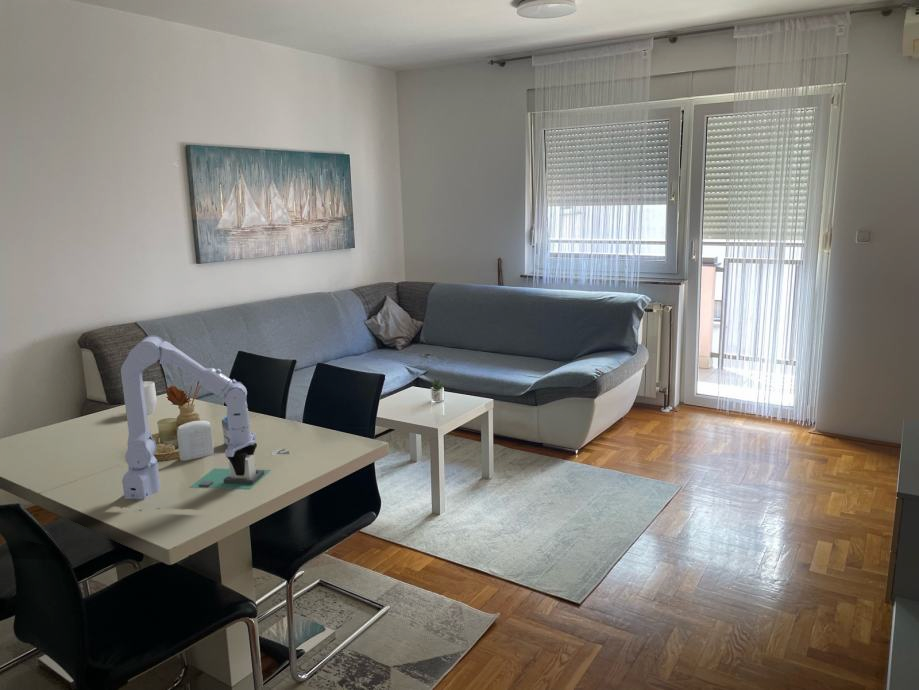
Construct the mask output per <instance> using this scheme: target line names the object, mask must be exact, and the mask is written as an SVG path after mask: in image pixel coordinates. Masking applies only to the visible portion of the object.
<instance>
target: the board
mask: <svg viewBox="0 0 919 690" xmlns="http://www.w3.org/2000/svg"><path fill="white" fill-rule="evenodd" d="M271 471H272V470H271V469H256V475H255V476H254V477H252V478H251V479H240V478H231V477H230V468H213V469H212V470H210V471H209V472H207V473H206V474H205V475H203V476H202V477H201V478H200V479H198V480H197V481H196V482H194V483H192V485H190V486H189V488H190V489H191V488H194V489H221V490H223V489H224V490H226V489H229V490H251V489H253V488H254V487H255V486H256V485H257V484H258V483H259V482H260V481H261V480H262V479H263V478H264V477H266V475H268V473H270V472H271Z"/></svg>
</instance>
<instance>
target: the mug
mask: <svg viewBox="0 0 919 690" xmlns="http://www.w3.org/2000/svg"><path fill="white" fill-rule="evenodd" d="M155 384H156V383H155V382H154V381H148V380H147V381H145V380H144V381H143V388H144V396H145V403H146V411H147V416H148V415H152V414H154V412H155V409H156V404H157V392H156V386H155Z"/></svg>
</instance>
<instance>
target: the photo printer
mask: <svg viewBox="0 0 919 690" xmlns="http://www.w3.org/2000/svg"><path fill="white" fill-rule="evenodd" d="M176 432H177V433H176V435H177V445H178V454H179V460H180V461H182V462H183V461H184V462H185V461H191V460H194V459H198V458H204V457H208V456H212V455H214V454H215V451H214V443H213V442H214V441H213V430H212V426H211V423H210V422H209V421H207V420H194V421H189V422H186V423H183V424H181V425H179V426H178V427H177V431H176Z"/></svg>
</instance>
